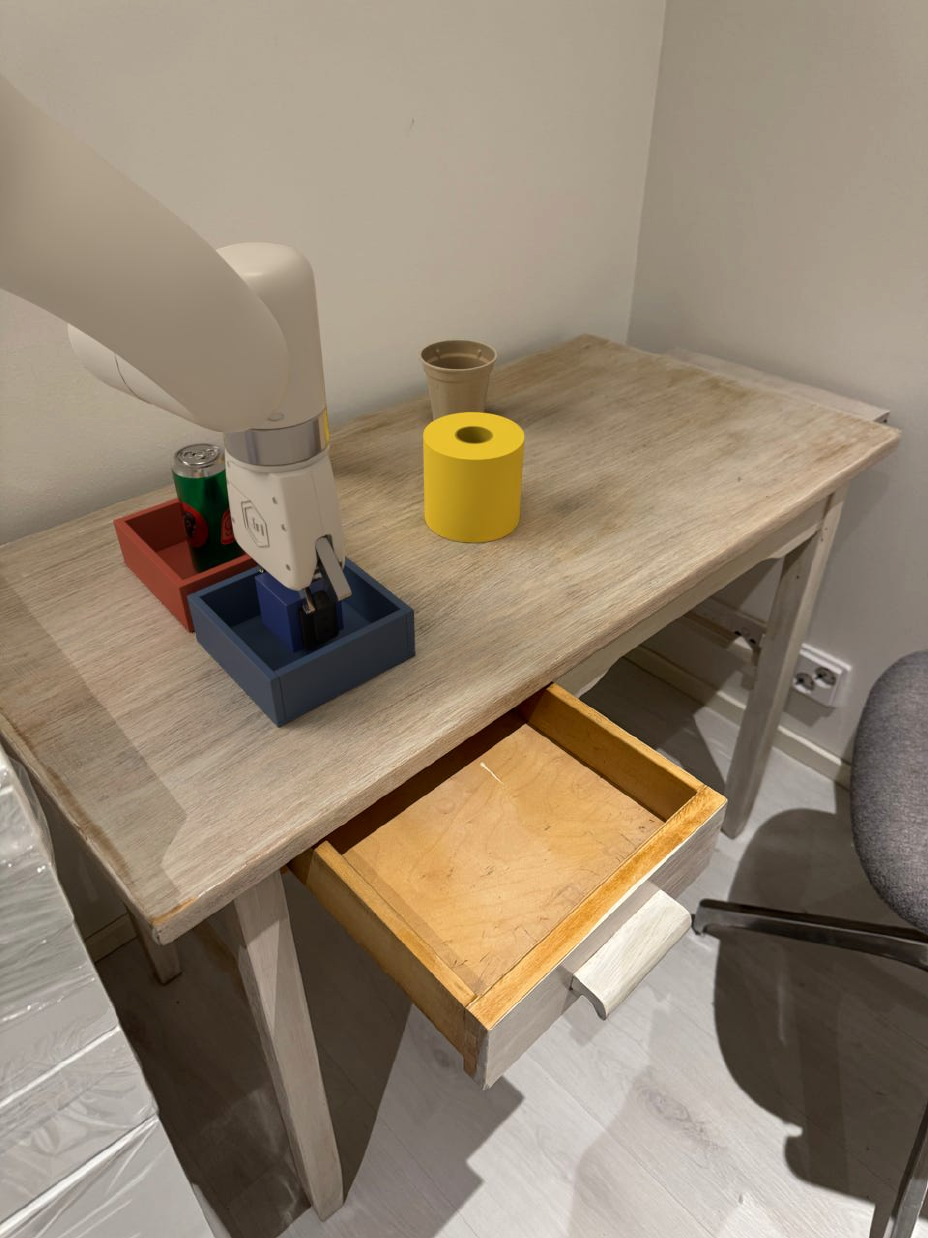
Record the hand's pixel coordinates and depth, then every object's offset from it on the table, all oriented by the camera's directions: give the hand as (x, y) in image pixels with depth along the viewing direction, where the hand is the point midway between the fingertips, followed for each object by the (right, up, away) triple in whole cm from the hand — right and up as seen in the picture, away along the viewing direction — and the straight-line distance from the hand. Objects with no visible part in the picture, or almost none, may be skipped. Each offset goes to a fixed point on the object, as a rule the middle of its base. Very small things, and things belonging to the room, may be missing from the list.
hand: (302, 622), depth 76 cm
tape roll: (+15, +11, +19) cm, 26 cm away
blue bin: (0, -2, +2) cm, 3 cm away
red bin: (-10, +5, +11) cm, 15 cm away
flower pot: (+13, +25, +36) cm, 46 cm away
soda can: (-10, +5, +10) cm, 15 cm away
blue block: (0, 0, 0) cm, 0 cm away
